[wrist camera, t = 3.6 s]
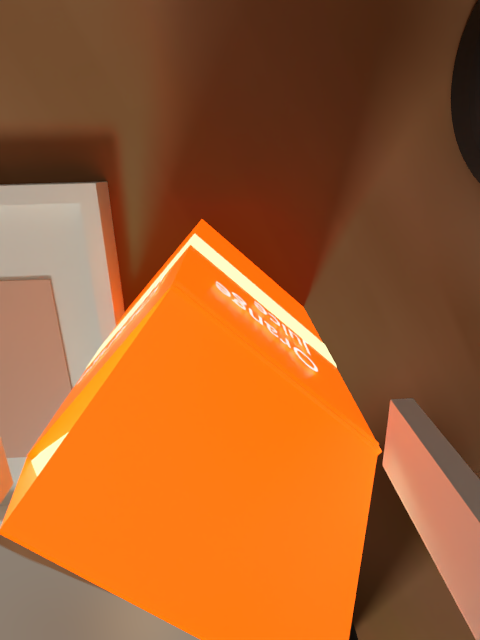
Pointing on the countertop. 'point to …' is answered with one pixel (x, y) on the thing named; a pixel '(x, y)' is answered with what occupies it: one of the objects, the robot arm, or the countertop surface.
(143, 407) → the orange juice
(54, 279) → the tray
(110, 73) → the countertop surface
